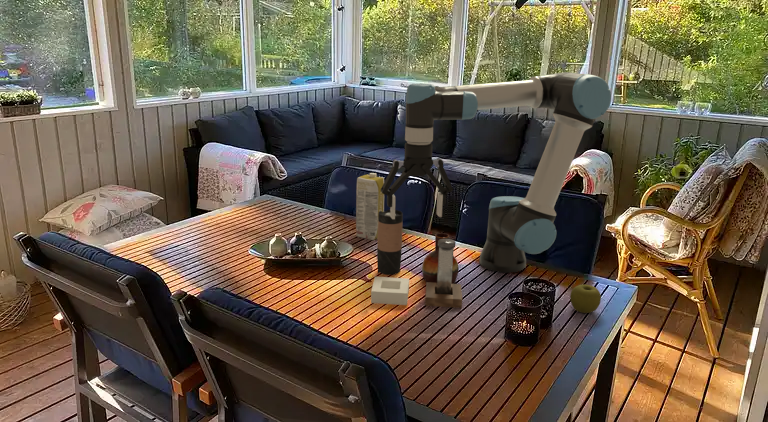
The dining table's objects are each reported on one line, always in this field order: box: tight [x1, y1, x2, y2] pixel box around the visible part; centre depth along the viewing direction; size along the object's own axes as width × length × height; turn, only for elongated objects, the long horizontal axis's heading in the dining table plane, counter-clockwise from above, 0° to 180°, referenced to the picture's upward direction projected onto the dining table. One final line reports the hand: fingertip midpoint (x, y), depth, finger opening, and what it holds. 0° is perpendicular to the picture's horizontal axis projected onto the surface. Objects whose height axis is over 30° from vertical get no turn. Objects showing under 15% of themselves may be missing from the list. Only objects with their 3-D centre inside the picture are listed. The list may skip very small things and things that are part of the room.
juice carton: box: [355, 172, 385, 241], centre depth 207 cm, size 9×8×24 cm
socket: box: [370, 276, 410, 306], centre depth 160 cm, size 10×10×4 cm
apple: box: [569, 284, 602, 314], centre depth 155 cm, size 8×8×7 cm
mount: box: [424, 281, 463, 309], centre depth 159 cm, size 10×10×4 cm
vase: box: [421, 232, 459, 284], centre depth 170 cm, size 11×11×15 cm
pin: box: [436, 238, 456, 295], centre depth 157 cm, size 5×5×17 cm
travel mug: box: [376, 209, 404, 276], centre depth 175 cm, size 8×8×20 cm
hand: (416, 216), depth 159 cm, fingers open, 13 cm apart
